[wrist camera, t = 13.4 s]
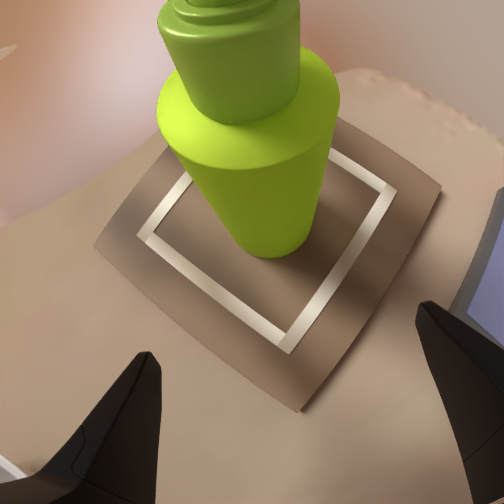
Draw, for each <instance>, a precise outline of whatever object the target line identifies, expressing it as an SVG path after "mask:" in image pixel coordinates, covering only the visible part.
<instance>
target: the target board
mask: <svg viewBox="0 0 504 504" xmlns="http://www.w3.org/2000/svg"><path fill="white" fill-rule="evenodd" d="M441 187H442V186H441V185H440V184H439V183H437V182H436V181H435V180H433V179H432V178H431V177H429V176H428V175H427V174H425V173H424V172H423V171H421V170H420V169H419V168H417V167H416V166H414V165H413V164H412V163H410V162H409V161H407V160H406V159H405V158H403V157H402V156H400V155H399V154H397V153H396V152H394V151H393V150H391V149H390V148H388V147H387V146H385V145H384V144H382V143H381V142H379V141H377V140H376V139H374V138H373V137H371V136H369V135H368V134H366V133H365V132H363V131H361V130H360V129H358V128H356V127H355V126H353V125H351V124H349V123H348V122H346V121H344V120H342V119H341V118H339V117H337V120H336V124H335V129H334V134H333V138H332V143H331V147H330V152H329V156H328V160H327V165H326V169H325V173H324V177H323V182H322V186H321V190H320V194H319V198H318V202H317V206H316V210H315V214H314V218H313V222H312V226H311V229H310V232H309V234H308V236H307V238H306V240H305V241H304V242H303V243H302V245H301V246H300V247H298V248H297V249H296V250H295V251H293V252H291V253H290V254H288V255H285V256H282V257H278V258H261V257H257V256H254V255H251V254H249V253H248V252H246V251H245V250H243V249H242V248H241V247H240V246H239V245H238V244H237V243H236V242H235V240H234V239H233V237H232V236H231V235H230V233H229V232H228V230H227V229H226V227H225V226H224V225H223V223H222V222H221V220H220V219H219V217H218V216H217V214H216V213H215V212H214V210H213V209H212V207H211V206H210V204H209V203H208V201H207V200H206V199H205V197H204V196H203V194H202V193H201V191H200V190H199V188H198V187H197V185H196V184H195V183H194V181H193V180H192V178H191V177H190V175H189V174H188V172H187V171H186V170H185V168H184V167H183V165H182V164H181V162H180V161H179V159H178V158H177V156H176V155H175V153H174V152H173V151H172V149H171V148H170V146H168V147H167V148H166V149H165V150H164V151H163V153H162V154H161V155H160V156H159V157H158V159H157V160H156V161H155V162H154V163H153V165H152V166H151V167H150V168H149V169H148V171H147V172H146V173H145V174H144V176H143V177H142V178H141V179H140V181H139V182H138V183H137V185H136V186H135V187H134V188H133V190H132V191H131V192H130V194H129V195H128V196H127V198H126V199H125V200H124V202H123V203H122V204H121V206H120V207H119V208H118V210H117V211H116V213H115V214H114V215H113V217H112V218H111V220H110V221H109V222H108V224H107V225H106V227H105V228H104V230H103V231H102V232H101V234H100V235H99V237H98V238H97V240H96V241H95V243H94V244H93V246H94V247H95V248H96V249H97V250H98V251H99V252H100V253H101V254H102V255H103V256H104V257H105V258H106V259H107V260H108V261H109V262H110V263H111V264H112V265H113V266H114V267H115V268H116V269H117V270H118V271H119V272H120V273H121V274H122V275H124V276H125V277H126V278H127V279H128V280H129V281H130V282H131V283H132V284H133V285H134V286H135V287H136V288H137V289H138V290H140V291H141V292H142V293H143V294H144V295H145V296H146V297H147V298H148V299H150V300H151V301H152V302H153V303H154V304H155V305H156V306H157V307H159V308H160V309H161V310H162V311H163V312H164V313H165V314H167V315H168V316H169V317H170V318H171V319H172V320H174V321H175V322H176V323H177V324H178V325H179V326H181V327H182V328H183V329H184V330H185V331H187V332H188V333H189V334H190V335H191V336H193V337H194V338H195V339H196V340H198V341H199V342H200V343H201V344H203V345H204V346H205V347H206V348H208V349H209V350H210V351H211V352H213V353H214V354H215V355H216V356H218V357H219V358H220V359H222V360H223V361H224V362H226V363H227V364H228V365H229V366H231V367H232V368H233V369H235V370H236V371H237V372H239V373H240V374H241V375H243V376H244V377H246V378H247V379H248V380H250V381H251V382H252V383H254V384H255V385H257V386H258V387H259V388H261V389H262V390H264V391H265V392H266V393H268V394H269V395H271V396H272V397H274V398H275V399H277V400H278V401H279V402H281V403H282V404H284V405H285V406H287V407H288V408H290V409H291V410H293V411H294V412H296V413H298V412H299V410H300V409H301V408H302V407H303V406H304V405H305V403H306V402H307V401H308V400H309V399H310V397H311V396H312V395H313V394H314V392H315V391H316V390H317V389H318V387H319V386H320V385H321V384H322V382H323V381H324V380H325V378H326V377H327V376H328V375H329V373H330V372H331V371H332V369H333V368H334V367H335V365H336V364H337V363H338V361H339V360H340V359H341V357H342V356H343V355H344V353H345V352H346V350H347V349H348V348H349V346H350V345H351V343H352V342H353V341H354V339H355V338H356V336H357V335H358V333H359V332H360V330H361V329H362V328H363V326H364V325H365V323H366V322H367V320H368V319H369V317H370V316H371V314H372V312H373V311H374V309H375V308H376V306H377V305H378V303H379V302H380V300H381V298H382V297H383V295H384V294H385V292H386V290H387V289H388V287H389V285H390V284H391V282H392V281H393V279H394V277H395V275H396V274H397V272H398V270H399V269H400V267H401V265H402V263H403V262H404V260H405V258H406V256H407V255H408V253H409V251H410V249H411V247H412V245H413V244H414V242H415V240H416V238H417V236H418V234H419V232H420V230H421V228H422V227H423V225H424V223H425V221H426V219H427V217H428V215H429V213H430V211H431V209H432V206H433V204H434V202H435V200H436V198H437V196H438V194H439V192H440V189H441Z"/></svg>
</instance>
